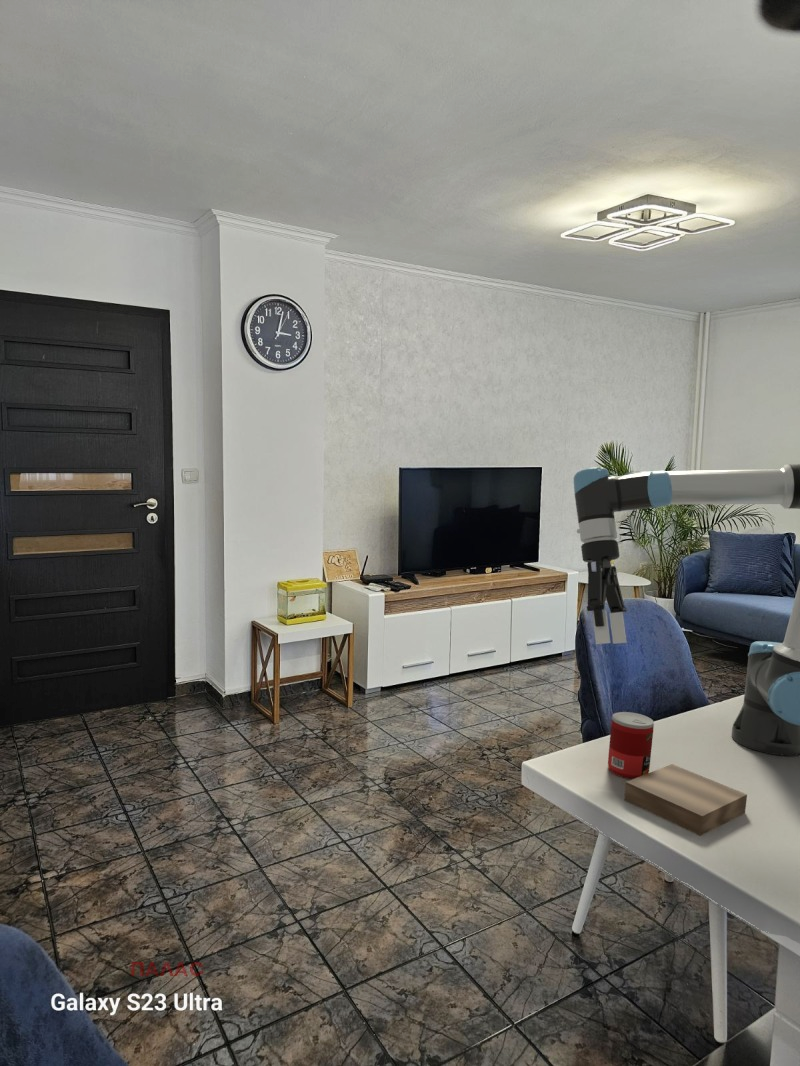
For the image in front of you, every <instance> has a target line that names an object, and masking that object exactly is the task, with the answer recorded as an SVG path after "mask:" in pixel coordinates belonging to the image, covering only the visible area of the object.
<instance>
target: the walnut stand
mask: <svg viewBox="0 0 800 1066" xmlns="http://www.w3.org/2000/svg"><path fill="white" fill-rule="evenodd" d="M747 798H748V794H747V793H745V792H743V791H739V790H737V789H734V788H732V787H729V786H727V785H724V784H722V783H720V782H718V781H715V780H712V779H710V778H707V777H705V776H702V775H700V774H697V773H695V772H693V771H690V770H689V769H685V768H683V767H680V766H677V765H675V764H668V765H666V766H663V767H660V768H658V769H656V770H653V771H651V772H650V771H649V773H648V774H645V775H642V776H640V777H637V778H635V779H629V780H627V781H626V782H625V787H624V798H623V799H624V801H625V802H627V803H630V804H631V805H633V806H635V807H638V808H640V809H642V810H644V811H646V812H648V813H651V814H653V815H655V816H657V817H660V818H662V819H664V820H665V821H668V822H669V823H672V824H674V825H676V826H678V827H681V828H683V829H684V830H687V831H689V832H691V833H693V834H696V835H697V836H700V837H701V836H704V835H705V834H707V833H708V832H711V831H712V830H715V829H717V828H719V827H721V826H722V825H724V824H726V823H728V822H730V821H733V820H735V819H736V818H738V817H740V816H742V815H744V814H746V810H747V809H746V807H747V801H748V800H747Z"/></svg>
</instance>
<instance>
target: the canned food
mask: <svg viewBox="0 0 800 1066" xmlns="http://www.w3.org/2000/svg"><path fill="white" fill-rule="evenodd" d="M654 727H655V724H654V720H653V719H652V718H651V717H648V716H646V715H644V714H641V713H636V712H632V711H631V712H630V711H620V712H615V713H612V716H611V722H610V736H609V749H608V757H607V767H608V770H609V771H610V772H611V773H612V774H614V775H616V776H618V777H620V778H621V777H622V778H625V779H629V780H632V779H635V778H637V777H640V776H642V775H645V774H648V773H650V765H651V758H652V757H651V755H652V746H653V738H654V737H653V736H654Z"/></svg>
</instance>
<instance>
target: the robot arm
mask: <svg viewBox="0 0 800 1066" xmlns="http://www.w3.org/2000/svg"><path fill="white" fill-rule="evenodd" d="M573 489H574V490H573V491H574V499H575V508H576V514H577V515H576V516H577V521H578V523H577V524H578V527H579V528H578V529H576V533H577V534H579V538H580V542H581V543H582V544H581V545H580V547H581V548H580V550H581V556H582V561H583V562H585V563H587V564H586V565H587V574H588V575H587V605H586V610H587V612H591V615H592V623H593V631H594V640H595V645H603V644H611V640H612V644H616V645H617V644H626V643H627V644H628V641H627V634H626V627H625V619H624V612H627V607H626V606H625V604H624V598H623V595H622V591H621V587H620V583H619V579H618V573H617V567H616V566H615V565H612V563H611V561H613V560H617V559H619V558H620V549H619V548H620V547H619V542H618V541H617V538H618V532H617V531H618V530H617V525H616V518H615V512H617V513H619V512H625V511H634V510H635V511H636V510H643V509H652V508H653V509H657V508H661V507H666V506H669V505H671V506H672V505H675V506H677V505H780V506H782V508H784V509H789V510H791V509H792V510H793V509H795V510H796V509H798V510H800V463H795V464H793V463H791V464H789V463H787V464H784V465H783V466H782V467H781V468H779V469H777V468H775V469H770V468H769V469H722V470H721V469H719V470H717V469H715V470H667V471H666V470H652V471H640V470H631V471H629V472H626V473H624V474H623V475H619V476H618V475H616V476H615V475H613V476H611V474H610V473H609V470H608V469H607V468H605V467H590V468H589V467H587V468H585V469H581V470H579V471H577V472H576V473H575V474H574V476H573ZM794 596H795V597H794V600H793V601H794V602H793V605H792V607H791V613H790V616H789V620H788V624H787V626H786V627H787V628H786V631H785V634H784V635H785V636H784V639H783V642H777V641H775V642H774V641H766V640H765V641H763V640H762V641H761V640H760V641H759V640H758V641H754V642H752V643H751V644H750V646H749V652H748V653H747V657H748V659H747V667H746V668H747V669H746V676H745V677H746V678H745V688H744V695H743V697H744V698H743V705H742V707H741V708H740V710H739V712H738V714H737V716H736V719H735V720H734V721H733V724H732V726H731V727H732V728H731V738H732V739H733V740H734V741H735V742H737V743H738V744H739V745H742V746H744V747H746V748H748V749H751V750H753V751H757V752H761V753H764V754H768V755H769V754H771V755H775V754H776V756H784V755H789V757H790V755H794V756H800V755H799V754H800V580H799V581H798V584H797V589H796V592H795V595H794ZM606 602H607V605H608V608H609V621H608V613H607V609H605V607H606V606H605V605H606ZM609 622H610V623H609ZM609 624H610V627H609ZM609 628H610V629H609ZM610 630H611V631H610ZM610 632H611V635H610ZM611 638H612V639H611Z"/></svg>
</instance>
